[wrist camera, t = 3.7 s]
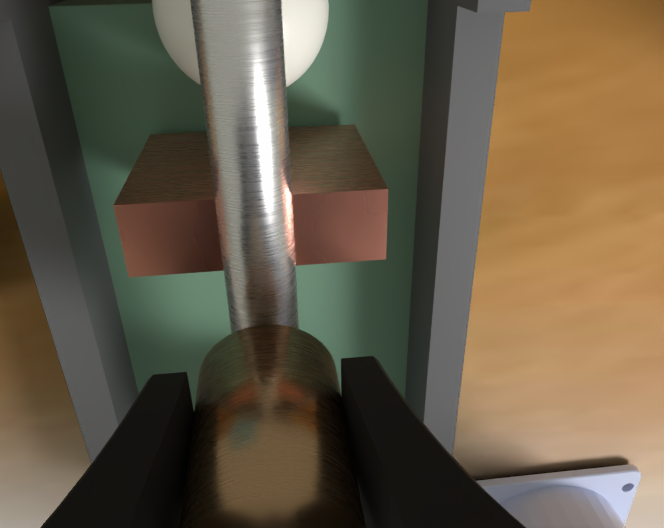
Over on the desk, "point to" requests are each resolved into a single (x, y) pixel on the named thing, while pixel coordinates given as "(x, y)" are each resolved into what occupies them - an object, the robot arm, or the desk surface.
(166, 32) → the ball
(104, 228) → the pitch
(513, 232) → the desk surface
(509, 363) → the desk surface
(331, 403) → the kicker
